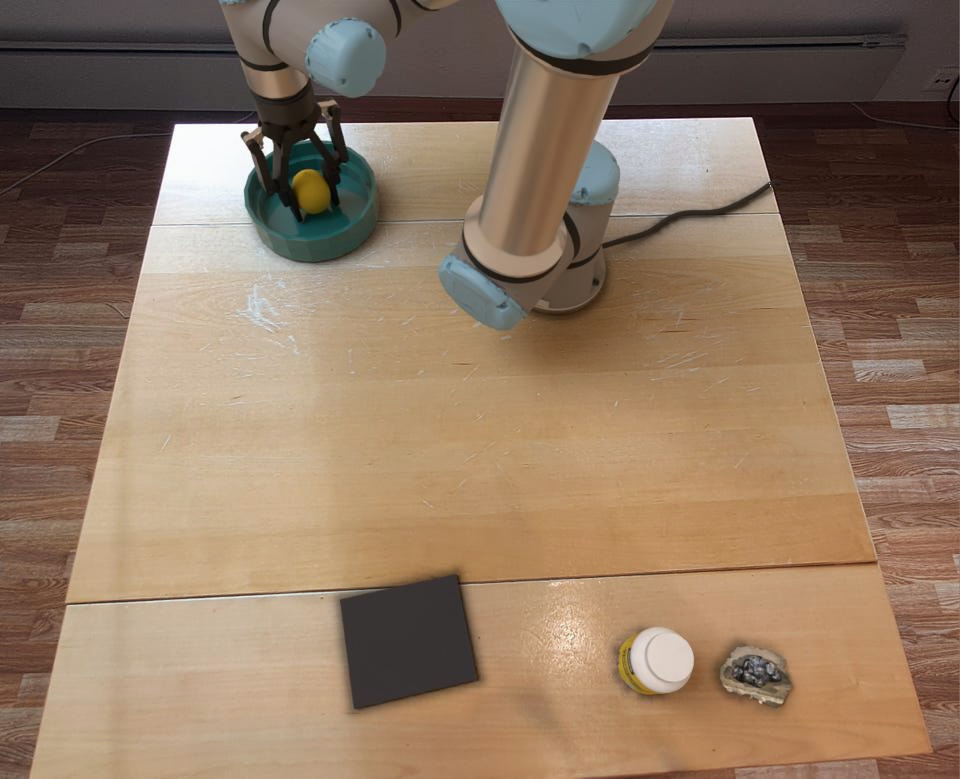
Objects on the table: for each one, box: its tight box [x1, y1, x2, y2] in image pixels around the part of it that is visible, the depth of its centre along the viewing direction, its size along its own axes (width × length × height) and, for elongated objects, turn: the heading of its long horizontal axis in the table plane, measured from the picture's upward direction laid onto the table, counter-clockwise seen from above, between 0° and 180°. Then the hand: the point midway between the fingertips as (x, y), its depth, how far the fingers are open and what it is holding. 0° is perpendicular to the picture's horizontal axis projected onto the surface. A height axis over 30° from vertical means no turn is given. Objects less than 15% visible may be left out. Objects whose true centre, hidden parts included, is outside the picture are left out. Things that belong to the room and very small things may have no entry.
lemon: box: [292, 169, 331, 214], centre depth 102 cm, size 6×6×8 cm
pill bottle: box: [616, 626, 695, 696], centre depth 74 cm, size 6×6×12 cm
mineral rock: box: [718, 645, 794, 709], centre depth 78 cm, size 7×8×2 cm
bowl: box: [243, 139, 381, 263], centre depth 104 cm, size 19×19×6 cm
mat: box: [339, 573, 478, 710], centre depth 79 cm, size 14×12×1 cm
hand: (315, 207), depth 105 cm, fingers closed on lemon, 6 cm apart
